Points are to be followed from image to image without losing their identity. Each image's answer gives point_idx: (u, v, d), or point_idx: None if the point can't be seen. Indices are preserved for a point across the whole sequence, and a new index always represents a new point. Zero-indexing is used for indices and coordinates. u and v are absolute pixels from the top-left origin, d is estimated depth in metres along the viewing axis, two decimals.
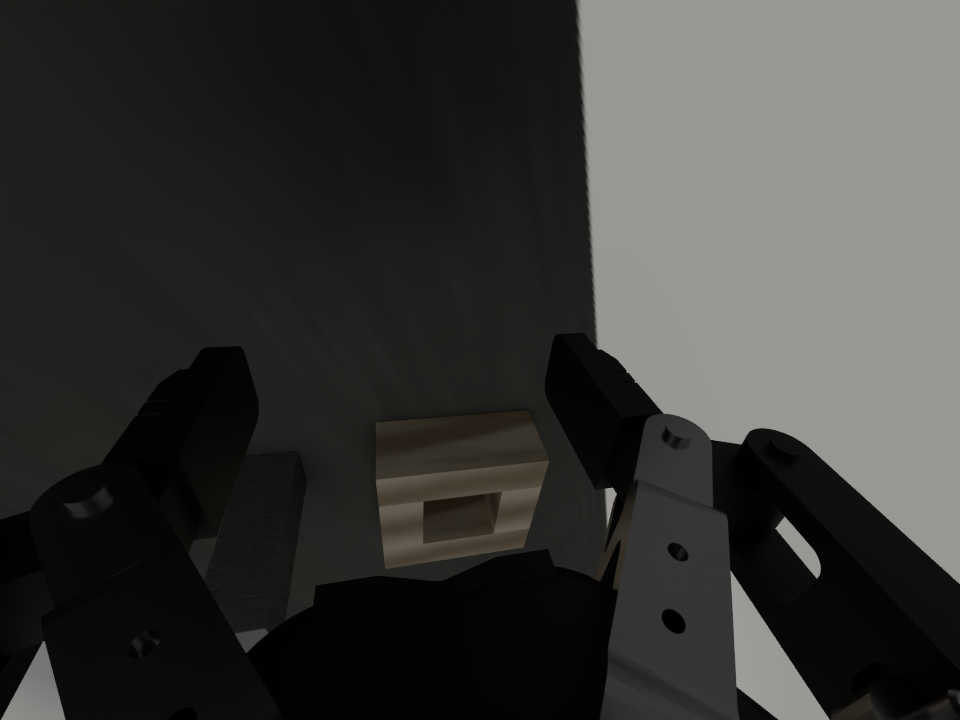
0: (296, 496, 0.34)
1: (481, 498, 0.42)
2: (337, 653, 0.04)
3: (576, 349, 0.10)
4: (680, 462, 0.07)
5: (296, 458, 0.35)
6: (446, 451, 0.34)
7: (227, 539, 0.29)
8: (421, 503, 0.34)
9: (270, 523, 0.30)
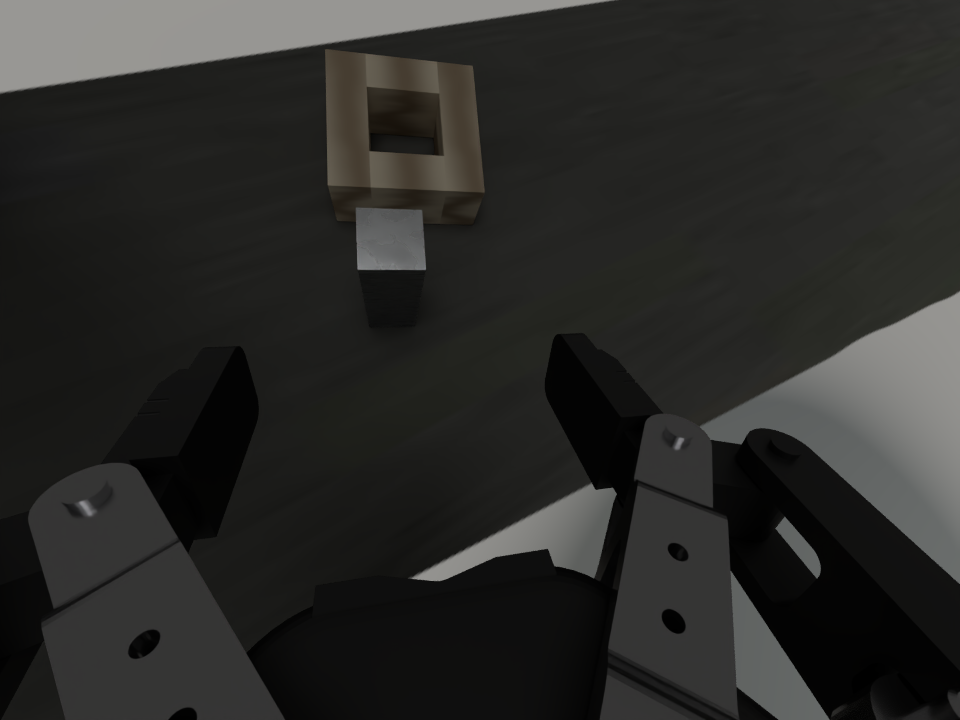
0: None
1: (435, 127, 0.43)
2: (337, 653, 0.04)
3: (576, 349, 0.10)
4: (680, 462, 0.07)
5: None
6: None
7: None
8: (372, 152, 0.37)
9: None
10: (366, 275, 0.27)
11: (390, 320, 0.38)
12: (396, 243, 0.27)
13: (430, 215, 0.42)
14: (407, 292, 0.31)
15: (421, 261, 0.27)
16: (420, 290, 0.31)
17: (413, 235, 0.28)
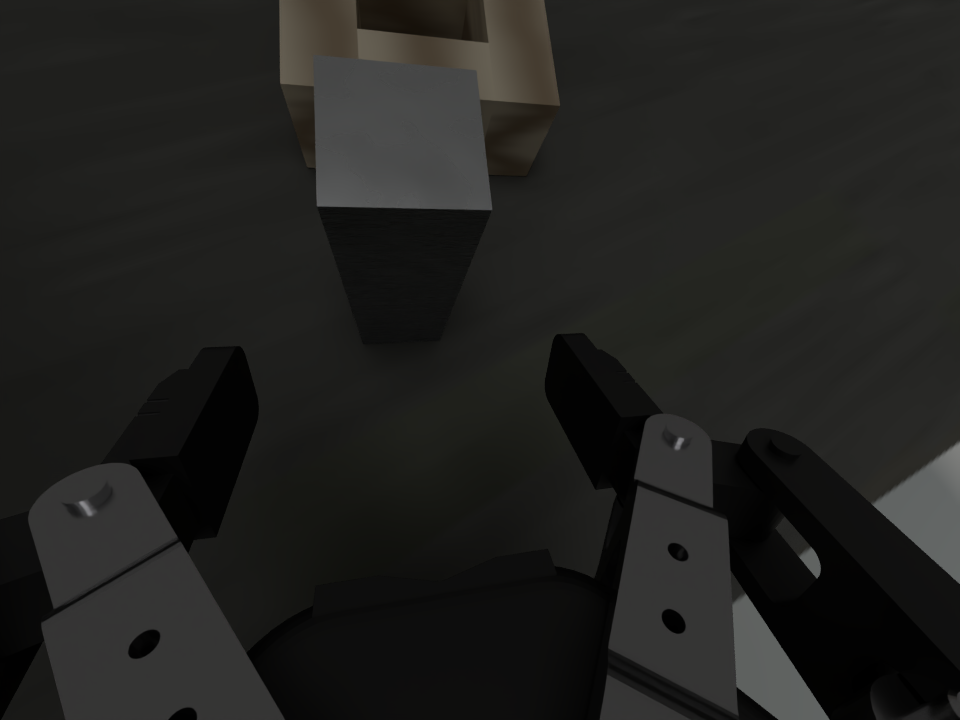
0: None
1: (466, 18, 0.27)
2: (337, 653, 0.04)
3: (576, 349, 0.10)
4: (680, 462, 0.07)
5: None
6: None
7: None
8: (362, 31, 0.20)
9: None
10: (343, 227, 0.11)
11: (398, 332, 0.22)
12: (418, 143, 0.11)
13: None
14: (436, 276, 0.15)
15: (480, 188, 0.11)
16: (464, 270, 0.15)
17: (459, 128, 0.11)
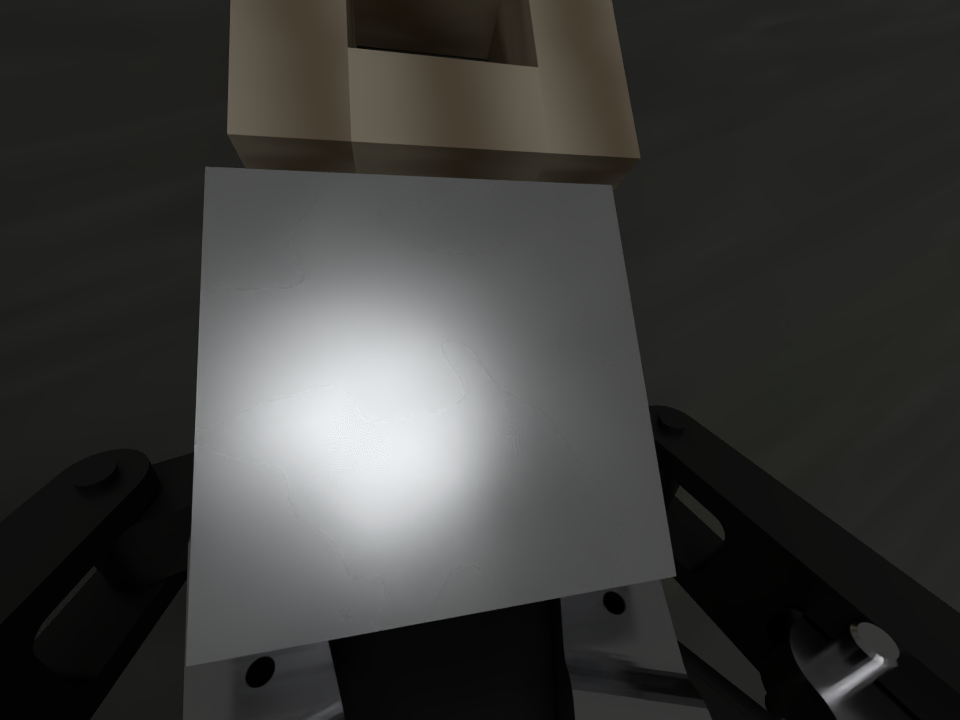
0: None
1: (496, 28, 0.20)
2: (337, 653, 0.04)
3: None
4: None
5: None
6: None
7: None
8: (355, 51, 0.14)
9: None
10: None
11: None
12: (483, 401, 0.04)
13: None
14: None
15: (643, 514, 0.04)
16: None
17: (582, 343, 0.04)
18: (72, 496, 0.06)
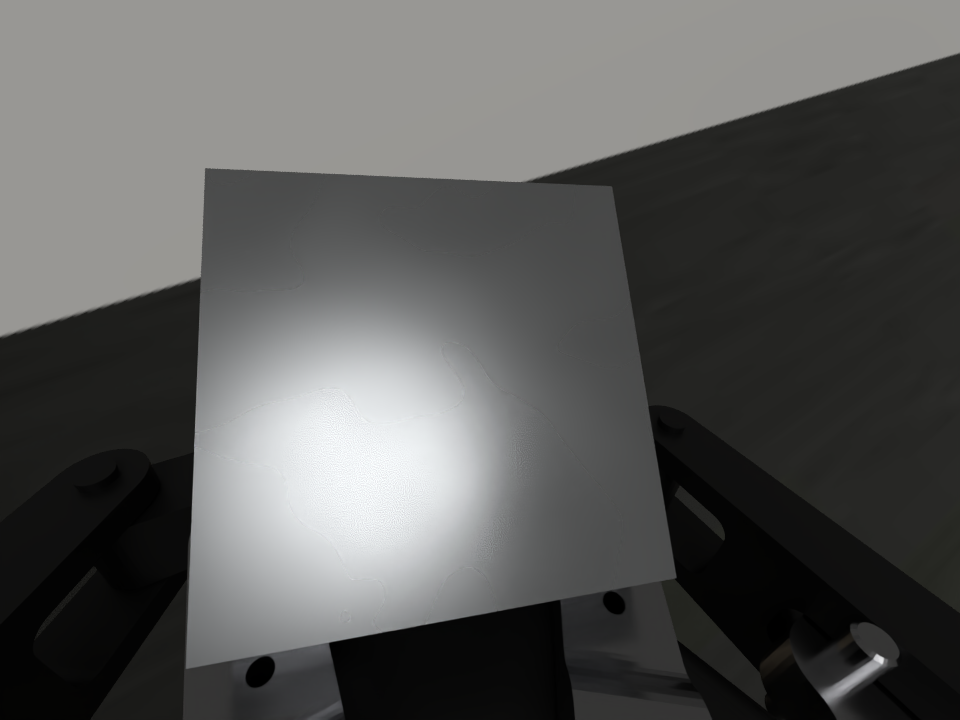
0: None
1: None
2: (337, 653, 0.04)
3: None
4: None
5: None
6: None
7: None
8: None
9: None
10: None
11: None
12: (483, 402, 0.04)
13: None
14: None
15: (642, 516, 0.04)
16: None
17: (582, 345, 0.04)
18: (72, 496, 0.06)
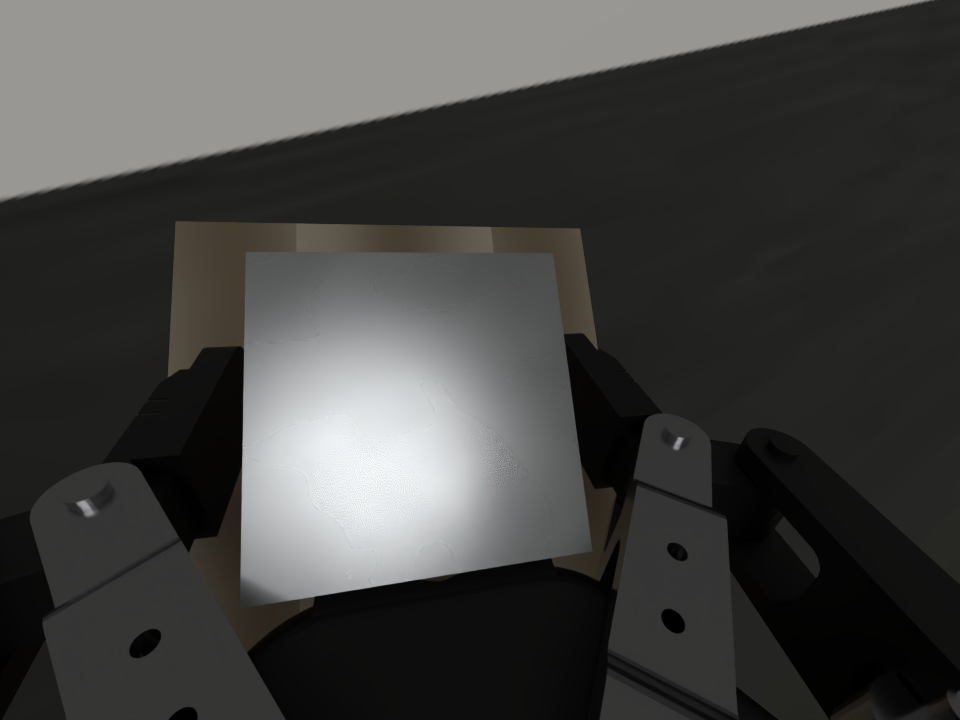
0: None
1: None
2: (337, 653, 0.04)
3: (575, 349, 0.10)
4: (679, 462, 0.07)
5: None
6: None
7: None
8: None
9: None
10: None
11: None
12: (449, 423, 0.06)
13: None
14: None
15: (568, 505, 0.06)
16: None
17: (526, 377, 0.06)
18: None
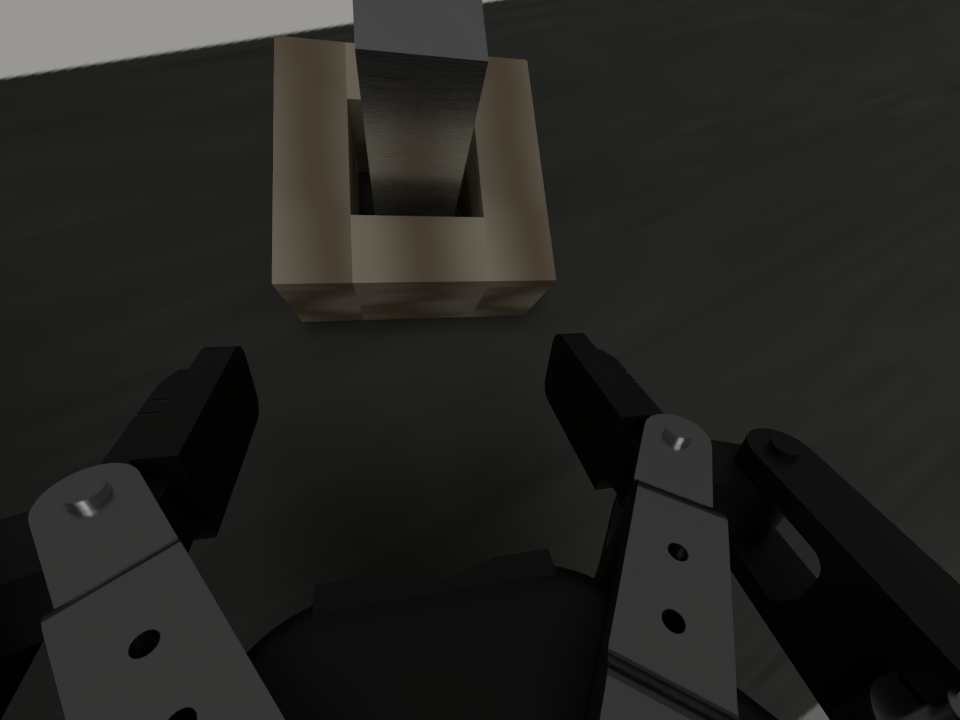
0: None
1: None
2: (337, 653, 0.04)
3: (576, 349, 0.10)
4: (680, 462, 0.07)
5: None
6: None
7: None
8: (355, 217, 0.20)
9: None
10: (372, 76, 0.14)
11: None
12: (431, 9, 0.14)
13: (457, 309, 0.25)
14: (444, 150, 0.18)
15: (479, 45, 0.14)
16: (467, 142, 0.18)
17: (463, 1, 0.14)
18: None
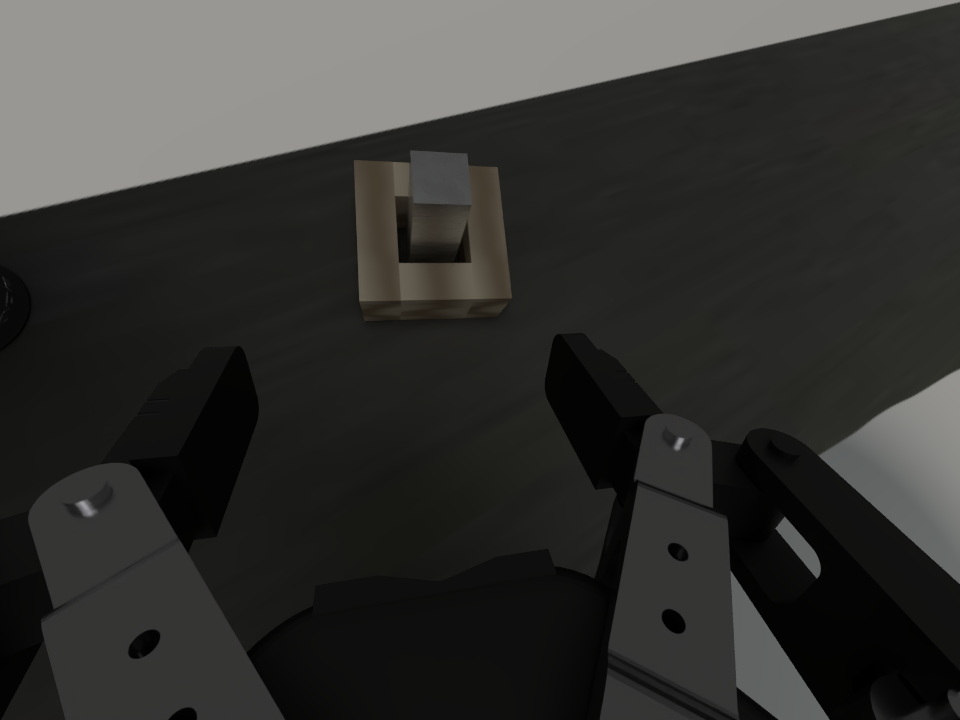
0: None
1: None
2: (337, 653, 0.04)
3: (576, 349, 0.10)
4: (680, 462, 0.07)
5: (406, 235, 0.44)
6: None
7: (410, 236, 0.36)
8: (401, 264, 0.37)
9: (408, 214, 0.38)
10: (419, 210, 0.31)
11: None
12: (446, 181, 0.31)
13: (456, 313, 0.42)
14: (450, 233, 0.35)
15: (467, 197, 0.31)
16: (462, 230, 0.35)
17: (460, 175, 0.31)
18: None
